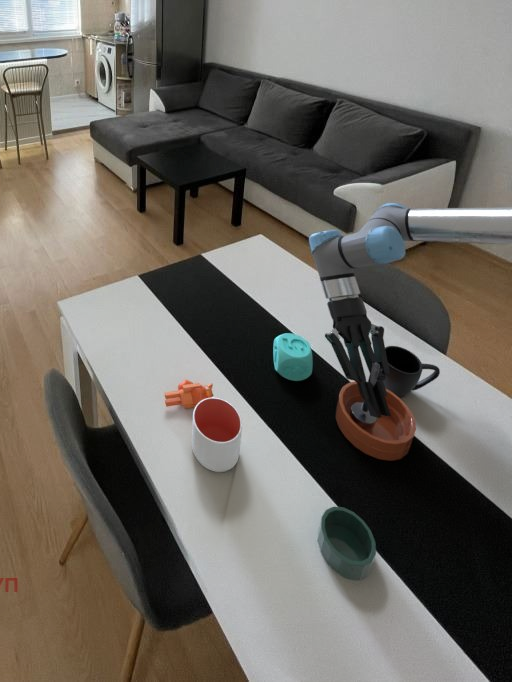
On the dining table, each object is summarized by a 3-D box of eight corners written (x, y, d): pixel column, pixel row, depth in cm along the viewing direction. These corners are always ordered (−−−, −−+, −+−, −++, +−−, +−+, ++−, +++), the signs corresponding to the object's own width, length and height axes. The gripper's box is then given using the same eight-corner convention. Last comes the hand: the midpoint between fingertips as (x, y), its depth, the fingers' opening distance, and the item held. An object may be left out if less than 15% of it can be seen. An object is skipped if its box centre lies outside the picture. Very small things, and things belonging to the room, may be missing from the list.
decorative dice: (272, 353, 115) (275, 330, 112) (303, 357, 114) (307, 334, 111) (276, 378, 108) (279, 355, 105) (310, 383, 107) (314, 360, 103)
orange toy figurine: (167, 396, 99) (217, 389, 100) (160, 377, 106) (206, 370, 107) (168, 417, 99) (218, 409, 100) (161, 396, 107) (208, 389, 108)
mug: (437, 411, 98) (448, 382, 95) (378, 398, 102) (386, 369, 98) (425, 381, 106) (434, 352, 102) (370, 370, 109) (377, 342, 106)
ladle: (374, 413, 97) (389, 358, 90) (375, 433, 93) (391, 377, 86) (349, 404, 99) (362, 350, 92) (349, 423, 95) (363, 368, 88)
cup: (236, 482, 87) (239, 450, 83) (187, 465, 90) (188, 434, 86) (240, 435, 95) (243, 404, 92) (196, 422, 99) (197, 391, 95)
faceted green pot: (369, 537, 78) (374, 521, 76) (371, 593, 71) (376, 576, 69) (319, 513, 81) (322, 497, 79) (315, 564, 74) (319, 548, 73)
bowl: (406, 414, 98) (411, 395, 96) (412, 475, 87) (419, 456, 84) (336, 389, 105) (340, 372, 102) (334, 443, 93) (338, 424, 91)
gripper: (362, 295, 103) (399, 407, 94) (306, 303, 101) (338, 417, 92) (382, 293, 96) (424, 413, 87) (322, 301, 94) (359, 424, 85)
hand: (380, 415), depth 90 cm, fingers closed on ladle
